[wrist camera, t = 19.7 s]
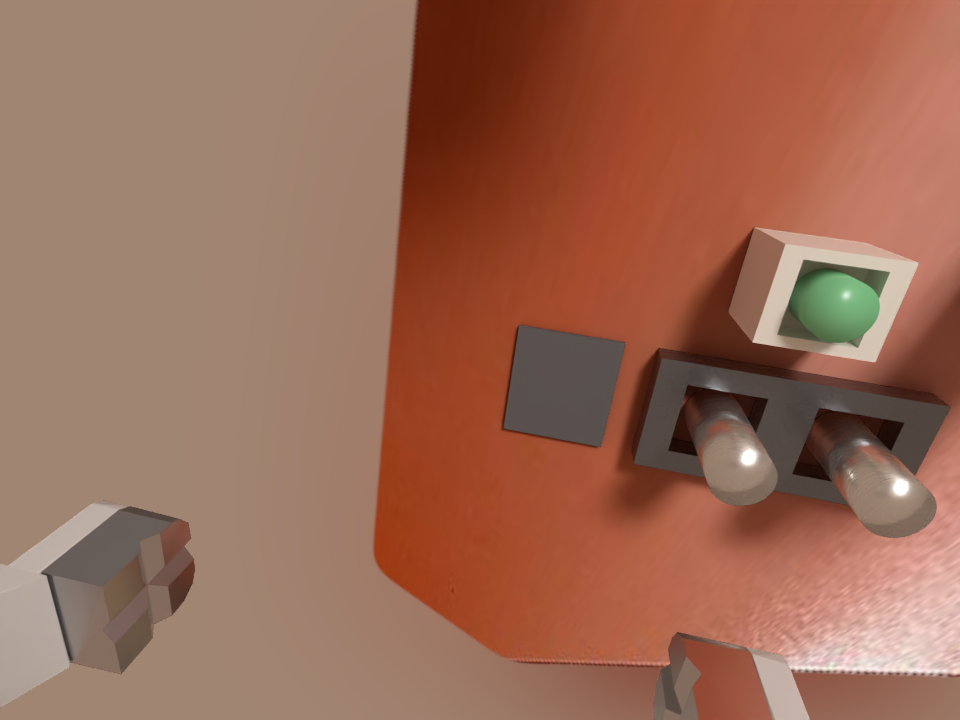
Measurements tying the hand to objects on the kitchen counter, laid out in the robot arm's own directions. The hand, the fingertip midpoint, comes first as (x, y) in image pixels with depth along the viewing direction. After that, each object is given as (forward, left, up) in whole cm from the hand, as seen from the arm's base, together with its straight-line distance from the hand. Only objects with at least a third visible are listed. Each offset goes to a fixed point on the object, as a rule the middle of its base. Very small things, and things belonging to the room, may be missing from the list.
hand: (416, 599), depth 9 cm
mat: (+11, +3, -33) cm, 35 cm away
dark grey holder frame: (+11, +19, -33) cm, 40 cm away
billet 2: (+11, +23, -33) cm, 42 cm away
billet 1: (+11, +14, -33) cm, 38 cm away
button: (0, +17, -28) cm, 33 cm away
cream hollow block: (0, +17, -33) cm, 37 cm away
